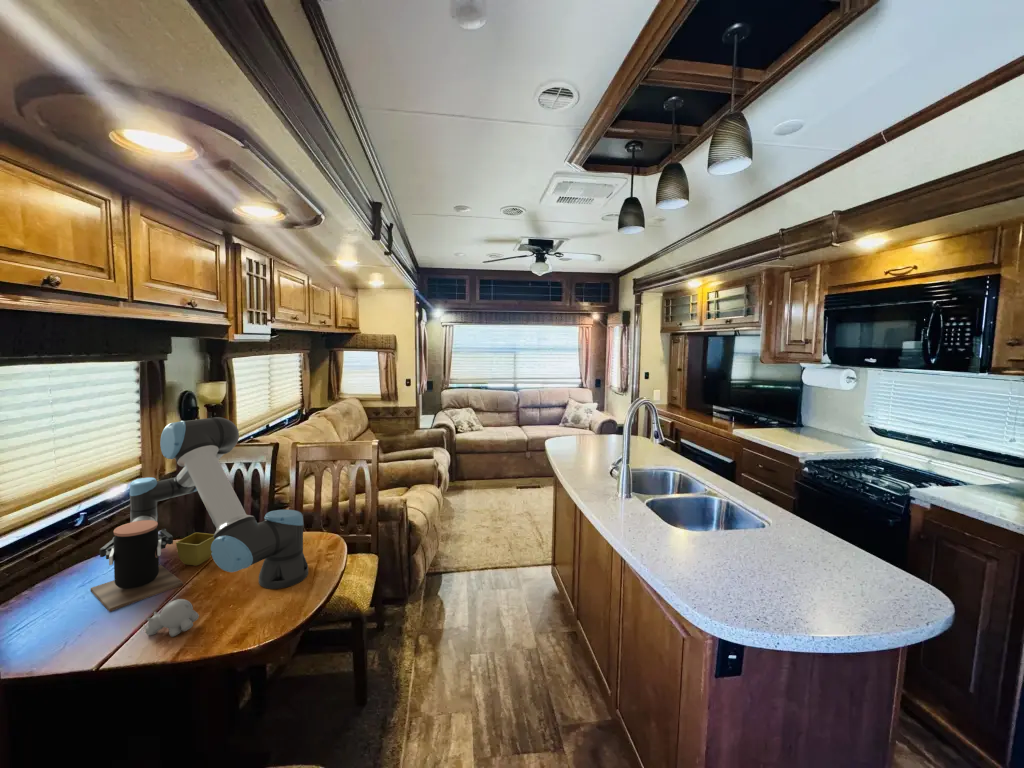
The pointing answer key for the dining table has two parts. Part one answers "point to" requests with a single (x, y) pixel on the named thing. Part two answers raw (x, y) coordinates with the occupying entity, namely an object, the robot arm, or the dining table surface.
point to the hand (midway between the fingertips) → (135, 556)
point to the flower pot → (195, 548)
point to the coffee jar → (136, 554)
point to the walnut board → (134, 590)
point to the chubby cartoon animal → (173, 618)
